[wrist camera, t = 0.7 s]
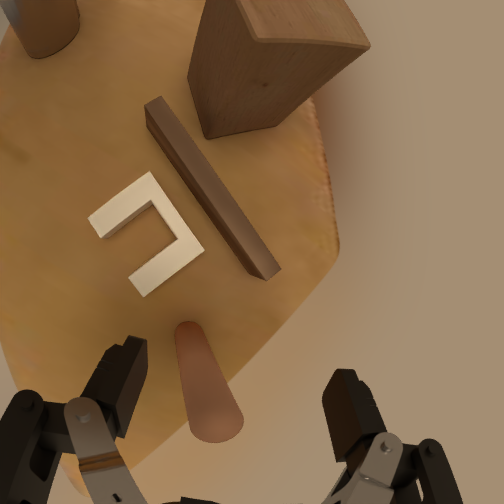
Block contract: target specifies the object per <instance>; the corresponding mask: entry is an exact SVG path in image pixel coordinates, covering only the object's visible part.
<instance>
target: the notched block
mask: <svg viewBox="0 0 504 504" xmlns="http://www.w3.org/2000/svg"><path fill="white" fill-rule="evenodd" d="M152 204H153V205H154V207H155V208H156V210H157V211H158V213H159V214H160V216H161V217H162V218H163V220H164V221H165V223H166V224H167V226H168V227H169V228H170V230H171V231H172V233H173V234H174V235H175V237H176V238H177V239H176V240H175V241H173V242H172V243H171V244H169V245H168V246H167V247H165V248H164V249H163V250H161V251H160V252H159V253H157V254H156V255H155V256H154V257H152V258H151V259H150V260H148V261H147V262H146V263H144V264H143V265H142V266H141V267H139V268H138V269H137V270H136V271H134V272H133V273H132V274H131V275H130V276H129V277H128V278H129V279H130V281H131V282H132V283H133V285H134V286H135V287H136V289H137V290H138V291H139V292H140V294H141V295H142V296H143V297H145V296H146V295H147V294H148V293H150V292H151V291H152V290H154V289H155V288H156V287H157V286H159V285H160V284H161V283H163V282H164V281H165V280H167V279H168V278H169V277H170V276H172V275H173V274H174V273H176V272H177V271H178V270H180V269H181V268H182V267H184V266H185V265H186V264H187V263H189V262H190V261H191V260H193V259H194V258H195V257H197V256H198V255H199V254H201V253H202V252H203V251H205V250H204V249H203V247H202V246H201V244H200V243H199V242H198V240H197V239H196V237H195V236H194V235H193V233H192V232H191V230H190V229H189V228H188V226H187V225H186V223H185V222H184V220H183V219H182V218H181V216H180V215H179V213H178V212H177V210H176V209H175V208H174V206H173V205H172V203H171V202H170V200H169V199H168V197H167V196H166V195H165V193H164V192H163V190H162V189H161V187H160V186H159V184H158V183H157V181H156V180H155V178H154V177H153V175H152V174H151V172H150V171H149V172H148V173H146V174H145V175H143V176H142V177H140V178H139V179H138V180H136V181H135V182H133V183H132V184H131V185H129V186H128V187H127V188H125V189H124V190H123V191H121V192H120V193H119V194H117V195H116V196H115V197H113V198H112V199H111V200H109V201H108V202H107V203H106V204H104V205H103V206H102V207H101V208H99V209H98V210H97V211H96V212H94V213H93V214H92V215H91V216H89V217H88V220H89V221H90V223H91V224H92V226H93V227H94V229H95V230H96V232H97V234H98V235H99V237H100V238H109V237H110V236H112V235H113V234H114V233H115V232H117V231H118V230H119V229H121V228H122V227H123V226H124V225H126V224H127V223H128V222H130V221H131V220H132V219H134V218H135V217H136V216H137V215H139V214H140V213H141V212H143V211H144V210H146V209H147V208H148V207H150V206H151V205H152Z"/></svg>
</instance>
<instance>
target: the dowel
mask: <svg viewBox="0 0 504 504" xmlns="http://www.w3.org/2000/svg"><path fill="white" fill-rule="evenodd" d="M175 342H176V350H177V357H178V364H179V370H180V377H181V383H182V389H183V394H184V400H185V405H186V411H187V416H188V421H189V425H190V430H191V432H192V433H193V435H194V436H195V437H197V438H198V439H200V440H202V441H205V442H209V443H220V442H224V441H227V440H229V439H231V438H233V437H235V436H236V435H237V434H238V433H239V431H240V430H241V429H242V427H243V423H244V418H243V415H242V413H241V411H240V409H239V407H238V405H237V403H236V401H235V399H234V397H233V395H232V393H231V391H230V389H229V387H228V385H227V383H226V381H225V379H224V376H223V374H222V372H221V370H220V368H219V366H218V364H217V362H216V359H215V357H214V355H213V353H212V351H211V349H210V346H209V344H208V342H207V340H206V337H205V335H204V333H203V331H202V328H201V327H200V326H199V325H198V324H196V323H194V322H190V321H188V322H183V323H181V324H180V325H179V326H178V327H177V328H176V330H175Z"/></svg>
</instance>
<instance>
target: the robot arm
mask: <svg viewBox="0 0 504 504" xmlns="http://www.w3.org/2000/svg"><path fill="white" fill-rule="evenodd" d="M0 5H1V7H2V9H3V11H4V13H5V15H6V17H7V19H8V20H9V22H10V24H11V26H12V28H13V29H14V31H15V33H16V35H17V36H18V38H19V40H20V41H21V43H22V45H23V46H24V48H25V50H26V51H27V53H28V54H29V56H31V57H33V58H43V57H46V56H49V55H52V54H54V53H55V52H57V51H59V50H60V49H62V48H63V47H65V46H66V45H67V44H68V43H69V42H70V41H71V40H72V39H73V38H74V36H75V35H76V33H77V32H78V29H79V20H78V17H79V16H80V14H79V10H78V6H77V2H76V0H0ZM147 369H148V358H147V340H146V339H142V338H138V337H134V336H131V335H129V336H128V337H127V339H126V341H125V342H124V344H123V346H121V345H117V344H114V345H113V346H112V347H110V348H109V349H107V350H106V351H105V353H104V355H103V357H102V358H101V361H100V362H99V364H98V365H97V368H96V369H95V371H94V372H93V374H92V376H91V378H90V380H89V381H88V383H87V385H86V387H85V389H84V391H83V392H82V394H81V396H80V397H77V398H73V399H71V400H70V401H69V402H68V403H54V402H47V401H43V399H42V397H41V396H40V395H39V394H38V393H37V392H35V391H33V390H22V391H19V392H18V393H16V394H15V395H14V397H13V398H12V400H11V402H10V404H9V405H8V407H7V409H6V411H5V413H4V415H3V416H2V418H1V420H0V504H47V500H48V496H49V493H50V489H51V486H52V483H53V480H54V476H55V473H56V470H57V467H58V464H59V461H60V458H61V455H62V452H63V453H71V454H76V455H77V458H78V461H79V469H80V472H81V475H82V478H83V480H84V482H85V485H86V487H87V489H88V492H89V494H90V496H91V498H92V500H93V502H94V504H147V502H146V501H145V499H144V497H143V495H142V494H141V492H140V490H139V488H138V487H137V485H136V483H135V481H134V480H133V478H132V476H131V474H130V472H129V470H128V468H127V466H126V464H125V462H124V460H123V459H122V457H121V455H120V454H119V452H118V449H117V447H116V445H115V443H114V442H115V439H116V436H117V437H120V438H125V435H126V432H127V429H128V426H129V423H130V420H131V417H132V414H133V412H134V409H135V406H136V403H137V400H138V398H139V395H140V392H141V389H142V387H143V384H144V381H145V378H146V375H147ZM322 404H323V408H324V412H325V416H326V421H327V425H328V429H329V433H330V437H331V441H332V446H333V450H334V454H335V459H336V462H346V464H347V466H346V467H345V468H344V470H343V472H342V473H341V475H340V477H339V478H338V480H337V482H336V483H335V485H334V487H333V488H332V490H331V492H330V493H329V495H328V496H327V498H326V499H325V500H324V501H323V502H322V503H321V504H463V502H462V498H461V495H460V492H459V490H458V487H457V484H456V481H455V478H454V476H453V473H452V470H451V468H450V465H449V463H448V460H447V458H446V455H445V453H444V451H443V448H442V446H441V444H439V442H437V441H436V440H434V439H425V440H423V441H422V442H421V443H420V444H419V445H409V444H403V443H402V442H401V440H400V439H399V438H398V437H397V436H396V435H394V434H392V433H388V432H387V430H386V427H385V425H384V422H383V420H382V417H381V415H380V412H379V410H378V407H376V403H375V400H374V399H373V395H372V393H371V391H370V388H369V387H368V386H367V385H366V384H365V383H364V382H363V381H359V379H358V377H357V374H356V372H355V370H353V369H336V371H335V372H334V374H333V375H332V377H331V379H330V381H329V383H328V385H327V386H326V388H325V390H324V392H323V396H322ZM417 479H419V481H420V484H421V488H422V491H423V496H424V497H423V501H421V497H420V494H419V490H418V487H417V484H416V480H417ZM163 504H219V503H215V502H213V501H205V500H199V499H192V498H186V497H181V501H180V502H168V503H163Z"/></svg>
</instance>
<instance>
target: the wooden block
mask: <svg viewBox="0 0 504 504" xmlns="http://www.w3.org/2000/svg"><path fill="white" fill-rule="evenodd" d="M370 47H371V45H370V42H369V41H368V39H367V37H366V35H365V33H364V32H363V30H362V28H361V27H360V25H359V23H358V21H357V20H356V18H355V17H354V15H353V13H352V12H351V10H350V9H349V7H348V6H347V4H346V3H345V1H344V0H206V3H205V6H204V9H203V13H202V17H201V20H200V24H199V28H198V32H197V36H196V40H195V44H194V48H193V53H192V57H191V62H190V66H189V71H188V76H187V78H188V81H189V85H190V88H191V92H192V95H193V98H194V102H195V105H196V109H197V112H198V116H199V119H200V122H201V126H202V129H203V133H204V136H205V137H206V139H211V138H216V137H220V136H225V135H229V134H234V133H239V132H244V131H250V130H255V129H261V128H267V127H273V126H277V125H278V124H279V123H281V122H282V121H283V120H284V119H285V118H286V117H287V116H288V115H289V114H291V113H292V112H293V111H294V110H295V109H296V108H297V107H298V106H300V105H301V104H302V103H303V102H304V101H305V100H307V99H308V98H309V97H310V96H311V95H312V94H314V93H315V92H316V91H317V90H318V89H319V88H321V87H322V86H323V85H324V84H325V83H327V82H328V81H329V80H330V79H332V78H333V77H334V76H335V75H336V74H337V73H339V72H340V71H341V70H343V69H344V68H345V67H346V66H348V65H349V64H350V63H352V62H353V61H354V60H355V59H357V58H358V57H359V56H361V55H362V54H363V53H365V52H366V51H367V50H369V49H370Z"/></svg>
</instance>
